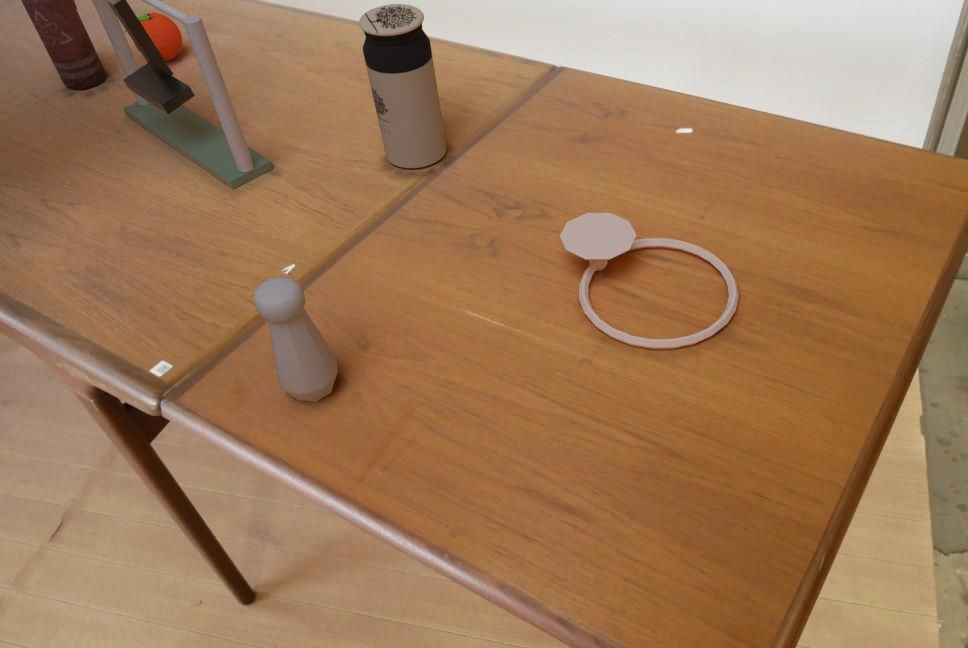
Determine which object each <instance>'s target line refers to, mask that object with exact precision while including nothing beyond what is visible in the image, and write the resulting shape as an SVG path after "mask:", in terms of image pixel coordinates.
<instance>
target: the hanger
mask: <svg viewBox="0 0 968 648" xmlns="http://www.w3.org/2000/svg"><path fill="white" fill-rule="evenodd" d="M106 1H107V2H108V4H109V5H110V7H111V8H112V10H113V11H114V13H115V14H116V16H117V18H118V21H119V23H120V24H121V26H123V28H124V29H126V33H127V34H128V35H129V37H130V39H131V40H132V41H133V44H134V43H135V44H136V46H137V47H138V49H139V50H140V51H139V50H138V49H137V50H138V51H139V52H140V54H141V55H142V57H143V58H144V59H145V61H146V63H145V64H144V65H142V66H141V67H139V69H138V70H137V71H135V72H134V73H132V74H131V75H129V76H128V77H126V76H125V78H123V79H122V81H123V82H124V84H125V85H126V87H127V88H128V89H129V91H131V92H132V93H133V92H135V93H136V94H138V95H139V96H141V97H142V98H144V99H145V100H147V101H148V102H150V103H151V104H153V105H154V106H156V107H157V108H159V109H160V110H162V111H164V112H165V113H167V114H170V113H171V112H173V111H174V110H176V109H177V108H178V107H180V106H181V105H183V106H184V105H185V104H186V103H187V102H188V101H190V100H191V99H193V98H194V97H196V95H195V93H194V92H193V90H192V88H191V87H190V85H188V84H187V83H185V82H184V81H182V80H180V79H179V78H177V77H175V76H173V75H174V72H173V70H172V69H171V68H170V66H169V64H168V63H167V61H165V60H164V58H163V57H162V55H161V54H160V52H159V50H158V49H157V47H156V46H155V44H154V43H153V41H152V40H151V38H150V37H149V35H148V33H147V32H146V30H145V29H144V27H143V26H142V24H141V23H140V21H139V19H138V18H137V17H138V16H137V15H136V13H135V12H134V10H133V9H132V7H131V5H130V4H129V2H128V1H127V0H106ZM160 1H162V2H163V0H160ZM135 44H134V45H135ZM136 46H135V47H136ZM137 47H136V48H137Z"/></svg>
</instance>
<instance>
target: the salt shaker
mask: <svg viewBox="0 0 968 648" xmlns="http://www.w3.org/2000/svg"><path fill="white" fill-rule="evenodd" d="M252 295H253V303H254V308H255V310H256V312H257V313H258V314H259V315H260V316H261V317H262V319H264V320H265V321H267V324H268V329H269V330H268V331H269V334H270V335H269V336H270V341H271V347H272V351H273V358H274V359H273V360H274V366H275V372H276V380H277V383H278V385H279V386H280V387H281V388H282V389H283V390H284V391H285V393H287V394H288V395H290V396H291V397H293V398H294V399H295V400H296V401H300V402H309V403H317V402H318V401H320V400H322V399H323V398H325V397H327V396H328V395H330V394H331V393H333V387H334V384H335V381H336V378H337V375H338V373H339V366H338V359H337V357H336V355H335V353H334V352H333V351H332V348H331V347H330V346H329V345H328V343H327V341H326V340H325V338H324V337H323V335H322V333H321V332H320V331H319V329H318V328H317V327H316V324H315V323H314V322H313V320H312V319H311V317H310V316H309V314H308V312H307V311H306V310H305V309H306V308H304V307H305V305H306V295H305V292H304V288H303V287H302V285H301V284H300V283H299V282H298V281H297V280H296V279H295V278H291V277H288V276H274V277H270V278H268V279H265V280H264V281H263V282H262V283H260V284H259V285H258V286H257V288H256V289H255V290H254V292H253V294H252Z"/></svg>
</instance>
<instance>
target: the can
mask: <svg viewBox="0 0 968 648" xmlns="http://www.w3.org/2000/svg"><path fill="white" fill-rule="evenodd" d="M20 1H21V4H22V5H23V7H24V9H25V11H26V13H27V15H28V17H29V19H30V21H31V23H32V24H33V27H34V29H35V31H36V33H37V35H38V36H39V38H40V40H41V42H42V45H43V46H44V48H45V50H46V52H47V54H48V56H49V58H50V60H51V62H52V64H53V66H54V68H55V70H56V72H57V74H58V76H59V78H60V80H61V81H62V84H63V85H64V86H65V87H66V88H68V89H70V90H75V91H85V90H88V89H92V88H95V87H96V86H97V87H98V86H99V85H100V84H102V83H103V82H104V81H105V79H106V70H105V68H104V66H103V63H102V61H101V59H100V57H99V54H98V53H97V51H96V48H95V46H94V44H93V42H92V40H91V37H90V35H89V33H88V31H87V29H86V26H85V25H84V23H83V20H82V18H81V16H80V14H79V12H78V10H77V9H78V6H77V4H76V1H75V0H20Z"/></svg>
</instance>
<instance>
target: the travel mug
mask: <svg viewBox="0 0 968 648" xmlns="http://www.w3.org/2000/svg"><path fill="white" fill-rule="evenodd" d="M358 20H359V21H358V26H359V28H360V29H361V30H362V31H363V34H364V36H365V39H364V42H363V45H362V53H363V57H364V62H365V67H366V70H367V76H368V80H369V85H370V89H371V94H372V98H373V103H374V107H375V113H376V117H377V122H378V127H379V130H380V134H381V138H382V145H383V149H384V153H385V158H386V159H387V161H388V162H389V163H390V164H391V165H394V166H396V167H399V168H403V169H404V168H405V169H420V168H424V167H428V166H430V165H433V164H435V163H437V162H439V161H440V160H441V159H442V158H443V157H444V156H445V155H446V153H447V151H448V146H447V139H446V134H445V128H444V122H443V115H442V107H441V104H440V103H441V102H440V95H439V90H438V89H439V88H438V83H437V82H438V81H437V76H436V70H435V64H434V59H433V51H432V46H431V44H432V43H431V40H430V38H429V36H428V35H427V34H426V33H425V31H424V29H423V22H424V20H425V15H424V12H423V11H422V10H421V9H420V8H418V7H417V6H414V5H410V4H405V3H392V4H391V3H390V4H384V5H380V6H377V7H374V8H371V9H369V10H367V11H366V12H364V13H363V14H362V15H361V16H360V18H359V19H358Z"/></svg>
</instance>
